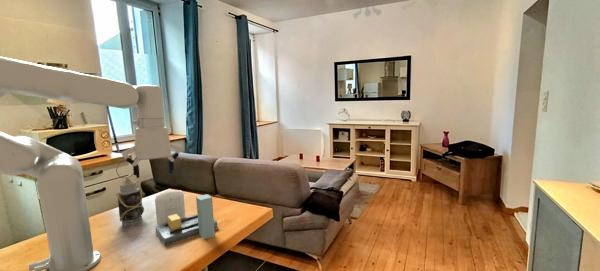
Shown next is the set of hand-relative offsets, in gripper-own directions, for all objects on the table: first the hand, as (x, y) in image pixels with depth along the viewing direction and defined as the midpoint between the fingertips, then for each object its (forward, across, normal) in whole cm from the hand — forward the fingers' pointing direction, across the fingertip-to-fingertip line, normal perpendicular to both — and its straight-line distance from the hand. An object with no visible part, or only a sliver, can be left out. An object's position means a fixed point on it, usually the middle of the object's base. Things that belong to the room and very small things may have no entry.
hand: (154, 174), depth 92 cm
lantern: (+23, -6, +20) cm, 31 cm away
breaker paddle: (+20, +6, 0) cm, 20 cm away
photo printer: (+23, +7, +12) cm, 27 cm away
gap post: (+22, +14, -8) cm, 27 cm away
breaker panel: (+22, +10, +1) cm, 24 cm away
